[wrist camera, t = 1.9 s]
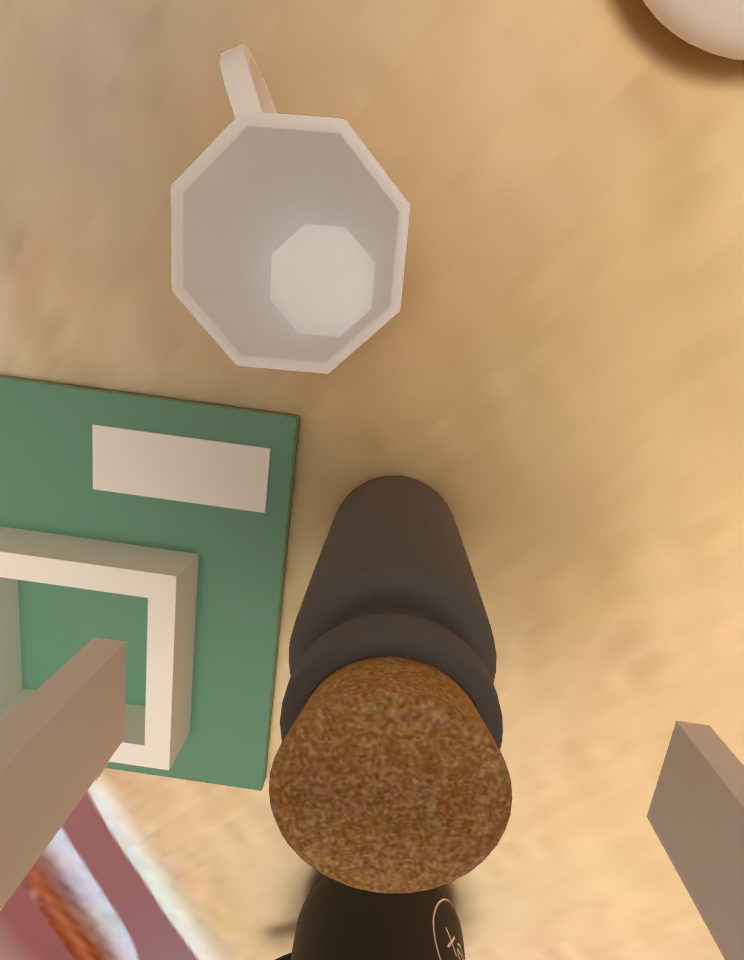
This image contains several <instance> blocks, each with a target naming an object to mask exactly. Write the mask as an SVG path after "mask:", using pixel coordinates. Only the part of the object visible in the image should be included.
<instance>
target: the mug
mask: <svg viewBox="0 0 744 960" xmlns="http://www.w3.org/2000/svg"><path fill="white" fill-rule="evenodd" d="M275 960H465V953H464V943H463V936H462V931H461V926H460V922H459V919H458V916H457V914H456V911H455V909H454V906H453V905H452V903H451V901H450V899H449V897H448V896H447V894H446V892H445V891H444V889H443V888H442V887H441V886H439V887H436V888H433V889H430V890H424V891H418V892H412V893H378V892H372V891H367V890H362V889H357V888H353V887H351V886H348V885H345V884H343V883H340V882H338V881H336V880H334V879H331V878H329V877H327V876H325V875H324V876H323V877H322V878H321V879H320V880H319V881H318V882H317V884H316V885H315V886H314V887H313V889H312V890H311V892H310V894H309V895H308V897H307V899H306V900H305V902H304V904H303V907H302V909H301V912H300V915H299V917H298V922H297V927H296V932H295V937H294V943H293V949H292V953H289V954H286V955H284V956H282V957H280V958H277V959H275Z"/></svg>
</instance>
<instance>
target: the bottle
mask: <svg viewBox="0 0 744 960" xmlns="http://www.w3.org/2000/svg"><path fill="white" fill-rule="evenodd" d="M289 666H290V674H291V678H290V680H289V683H288V686H287V689H286V692H285V696H284V699H283V702H282V709H281V718H280V728H281V738H282V743H281V745H280V747H279V749H278V751H277V754H276V756H275V758H274V761H273V765H272V768H271V772H270V781H269V795H270V803H271V808H272V812H273V815H274V818H275V820H276V822H277V825H278V827H279V829H280V831H281V834H282V835H283V837H284V838H285V840H286V841H287V843H288V844H289V846H290V847H291V848H292V849H293V850H294V851H295V852H296V853H297V854H298V855H299V856H300V857H301V859H302V860H304V861H305V862H306V863H308V864H309V865H310V866H312V867H313V868H315V869H316V870H318V871H319V872H321V873H322V874H324V875H325V876H327V877H329V878H331V879H334V880H336V881H338V882H340V883H343V884H345V885H348V886H351V887H353V888H357V889H362V890H367V891H372V892H378V893H412V892H418V891H424V890H430V889H433V888H436V887H439V886H442V885H445V884H448V883H451V882H453V881H454V880H456V879H458V878H460V877H462V876H463V875H465V874H467V873H469V872H470V871H472V870H473V869H474V868H475V867H476V866H478V865H479V864H480V863H481V862H482V861H483V860H484V859H485V858H486V857H487V856H488V855H489V854H490V852H491V851H492V850H493V849H494V848H495V847H496V846H497V844H498V842H499V841H500V839H501V837H502V835H503V833H504V831H505V829H506V826H507V823H508V820H509V817H510V812H511V803H512V789H511V780H510V775H509V772H508V769H507V766H506V763H505V760H504V758H503V756H502V754H501V752H500V748H501V743H502V734H503V726H502V713H501V709H500V705H499V701H498V696H497V692H496V690H495V687H494V684H493V683H494V678H495V673H496V650H495V643H494V638H493V634H492V630H491V626H490V623H489V620H488V617H487V614H486V611H485V608H484V605H483V602H482V599H481V596H480V593H479V590H478V587H477V584H476V581H475V578H474V575H473V572H472V569H471V566H470V563H469V560H468V557H467V554H466V552H465V549H464V546H463V543H462V540H461V537H460V534H459V531H458V528H457V525H456V523H455V520H454V518H453V515H452V513H451V511H450V509H449V507H448V506H447V504H446V503H445V502H444V500H443V499H442V498H441V496H440V495H439V494H438V493H437V492H435V491H434V490H433V489H432V488H430V487H429V486H427V485H425V484H424V483H422V482H420V481H417V480H415V479H411V478H408V477H402V476H387V477H381V478H376V479H373V480H371V481H368V482H366V483H364V484H363V485H361V486H359V487H358V488H356V489H355V490H354V491H352V492H351V493H350V494H349V495H348V497H347V498H346V499H345V500H344V502H343V503H342V504H341V506H340V508H339V510H338V512H337V513H336V516H335V518H334V521H333V523H332V526H331V528H330V531H329V533H328V536H327V539H326V541H325V544H324V546H323V549H322V551H321V554H320V557H319V559H318V562H317V564H316V567H315V570H314V572H313V575H312V578H311V580H310V583H309V586H308V589H307V591H306V594H305V597H304V599H303V602H302V605H301V607H300V610H299V613H298V615H297V618H296V622H295V625H294V629H293V632H292V635H291V639H290V646H289Z"/></svg>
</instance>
